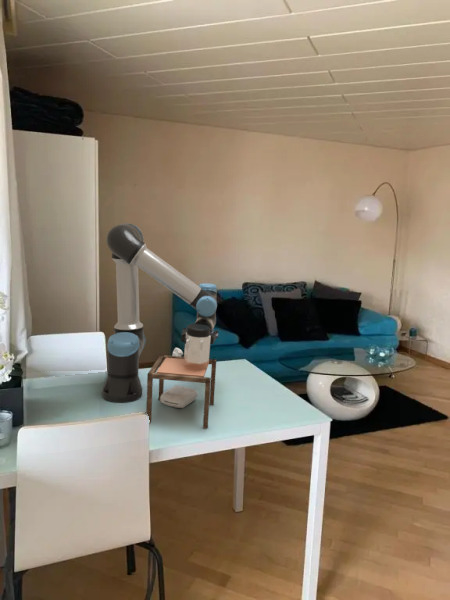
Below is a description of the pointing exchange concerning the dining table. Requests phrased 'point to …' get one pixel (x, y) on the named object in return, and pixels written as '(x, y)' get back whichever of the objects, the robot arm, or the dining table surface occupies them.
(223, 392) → the dining table surface
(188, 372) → the trapdoor
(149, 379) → the trapdoor frame
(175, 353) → the sitting furry creature
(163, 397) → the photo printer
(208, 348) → the jar
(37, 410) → the dining table surface
